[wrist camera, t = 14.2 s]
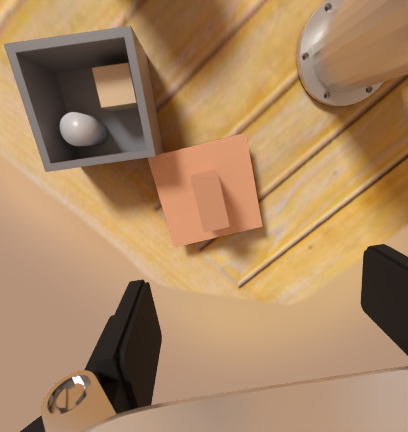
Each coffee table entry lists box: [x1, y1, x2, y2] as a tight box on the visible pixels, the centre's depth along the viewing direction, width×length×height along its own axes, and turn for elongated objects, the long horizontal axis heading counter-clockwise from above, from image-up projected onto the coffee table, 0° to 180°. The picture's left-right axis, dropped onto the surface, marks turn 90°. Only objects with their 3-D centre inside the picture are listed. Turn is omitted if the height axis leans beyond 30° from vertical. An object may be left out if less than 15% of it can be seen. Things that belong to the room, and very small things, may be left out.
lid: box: [147, 133, 263, 247], centre depth 31 cm, size 13×13×7 cm
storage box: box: [4, 26, 164, 172], centre depth 29 cm, size 12×12×8 cm
